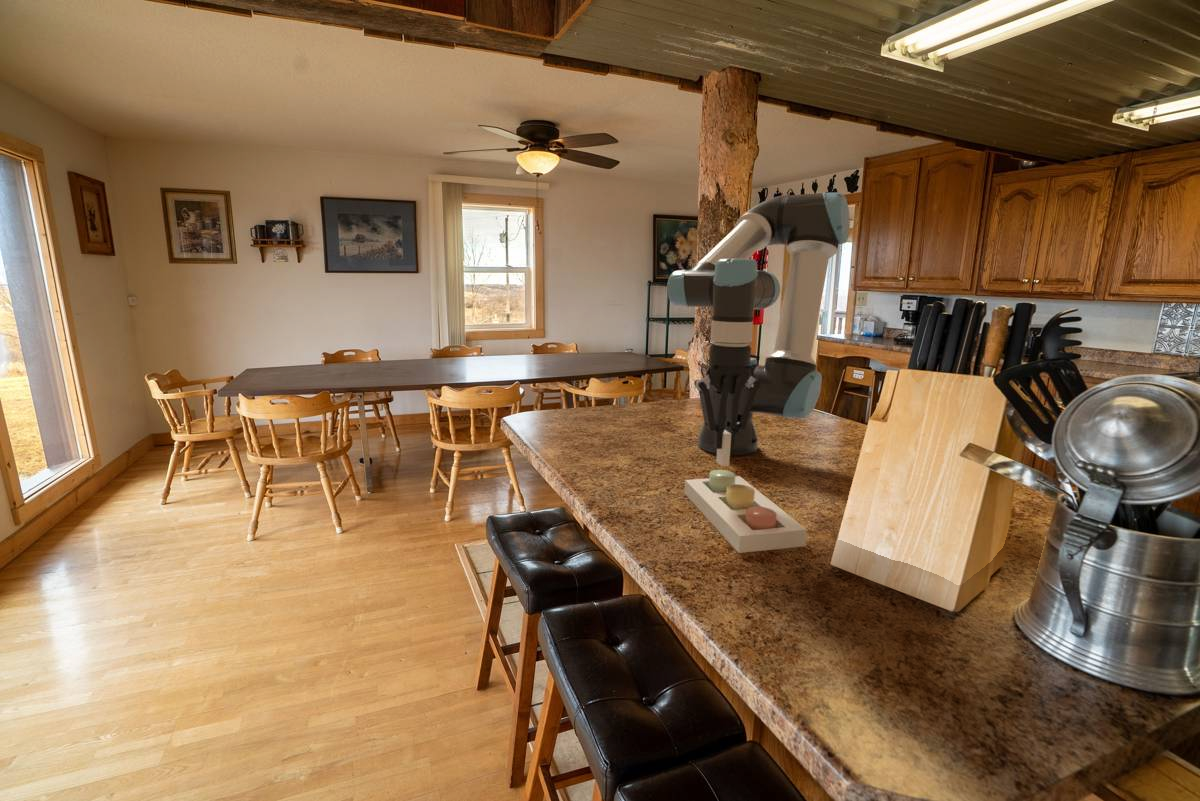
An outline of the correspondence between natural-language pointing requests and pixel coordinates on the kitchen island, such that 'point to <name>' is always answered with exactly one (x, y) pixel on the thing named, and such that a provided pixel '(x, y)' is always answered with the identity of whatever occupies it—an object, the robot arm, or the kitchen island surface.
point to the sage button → (721, 480)
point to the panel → (733, 520)
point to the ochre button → (739, 497)
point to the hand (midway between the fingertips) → (722, 463)
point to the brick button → (760, 518)
